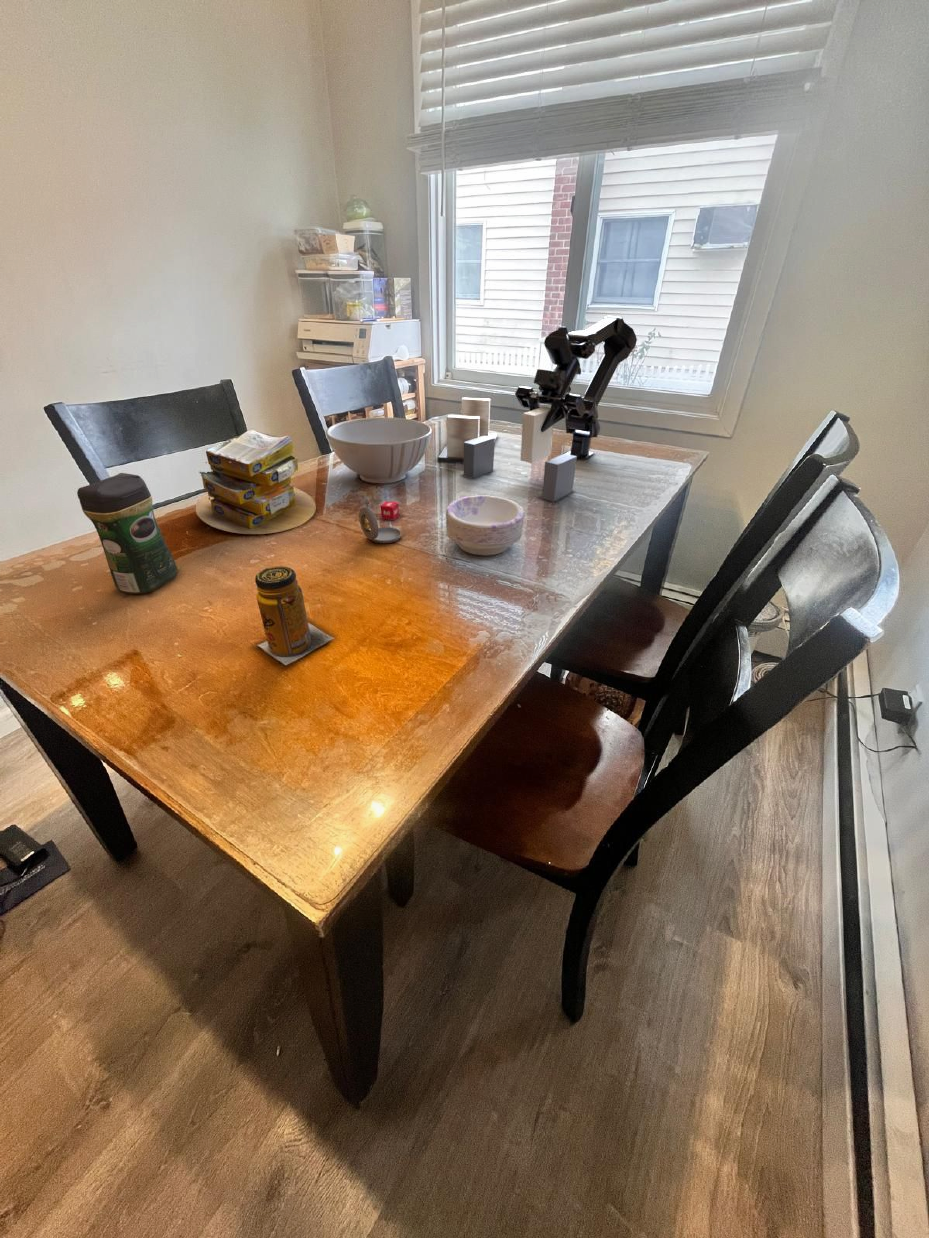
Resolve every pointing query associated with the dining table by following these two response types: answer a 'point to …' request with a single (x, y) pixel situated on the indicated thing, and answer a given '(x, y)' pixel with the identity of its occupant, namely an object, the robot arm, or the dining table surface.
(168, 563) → the coffee jar
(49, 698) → the dining table surface
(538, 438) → the white book
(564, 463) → the gray bookends
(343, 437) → the decorative bowl
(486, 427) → the book rack
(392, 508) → the dice
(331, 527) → the dining table surface
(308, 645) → the condiment
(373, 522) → the pocket watch
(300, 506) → the stacked yellow boxes
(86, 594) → the dining table surface
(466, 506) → the cream and purple bowl
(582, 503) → the dining table surface
